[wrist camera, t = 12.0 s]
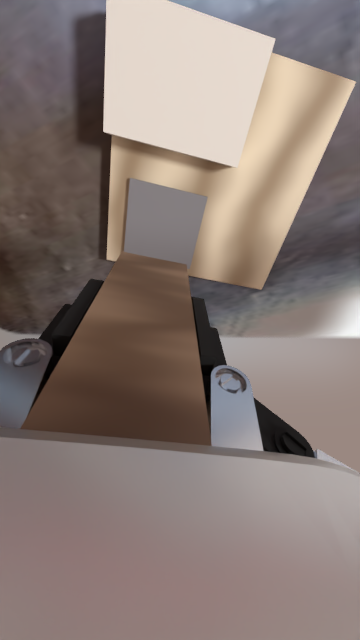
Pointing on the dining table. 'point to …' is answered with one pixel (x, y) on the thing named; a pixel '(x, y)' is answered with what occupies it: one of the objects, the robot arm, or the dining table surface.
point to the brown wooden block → (131, 362)
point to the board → (242, 175)
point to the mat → (163, 221)
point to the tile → (181, 79)
